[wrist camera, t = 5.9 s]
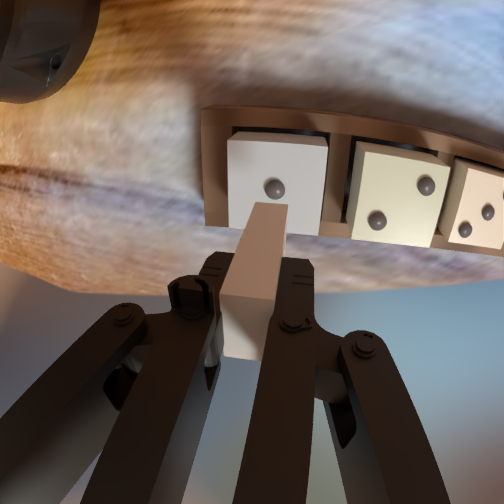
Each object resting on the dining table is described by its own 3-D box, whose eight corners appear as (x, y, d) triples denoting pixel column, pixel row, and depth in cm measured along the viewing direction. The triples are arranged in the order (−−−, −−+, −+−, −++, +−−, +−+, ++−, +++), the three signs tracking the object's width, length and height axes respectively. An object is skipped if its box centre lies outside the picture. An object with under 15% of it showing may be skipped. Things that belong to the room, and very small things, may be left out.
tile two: (345, 217, 22) (351, 240, 19) (356, 140, 19) (365, 152, 16) (415, 226, 21) (430, 249, 18) (432, 154, 18) (451, 168, 15)
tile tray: (213, 212, 26) (205, 225, 24) (210, 106, 21) (200, 109, 19) (493, 243, 22) (504, 257, 20) (518, 156, 18) (533, 165, 16)
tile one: (238, 207, 23) (228, 229, 20) (238, 131, 20) (226, 140, 17) (316, 214, 22) (318, 237, 19) (324, 136, 19) (328, 147, 16)
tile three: (434, 222, 22) (449, 243, 19) (449, 155, 19) (469, 169, 16) (484, 230, 21) (501, 250, 18) (501, 170, 18) (523, 184, 15)
